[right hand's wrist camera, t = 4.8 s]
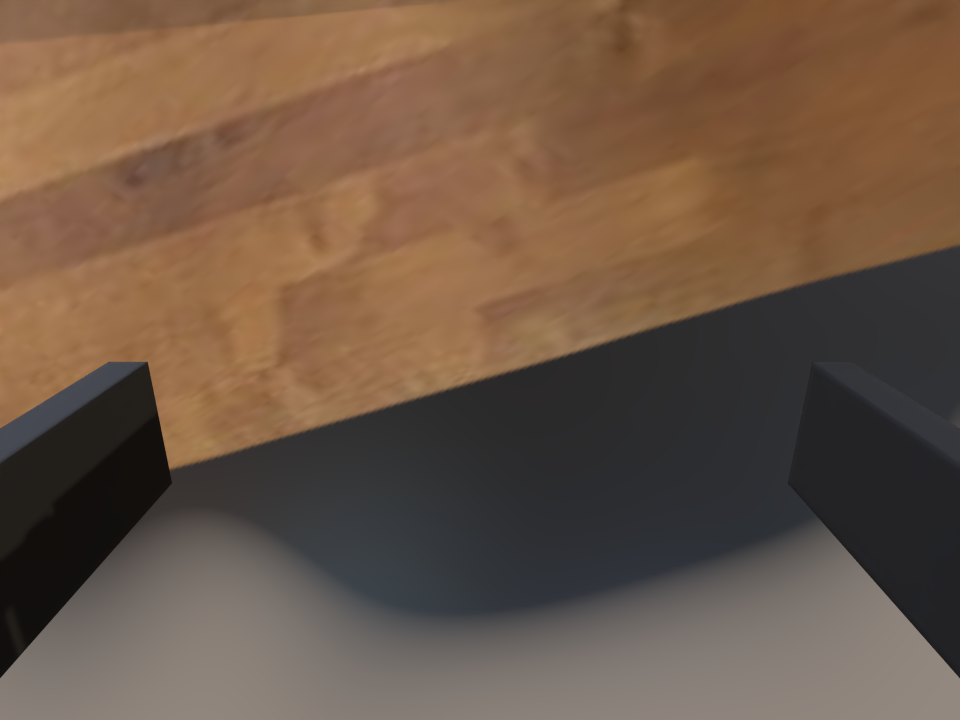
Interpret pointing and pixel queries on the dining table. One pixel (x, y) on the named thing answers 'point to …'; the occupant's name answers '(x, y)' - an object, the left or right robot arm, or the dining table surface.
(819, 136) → the dining table surface
